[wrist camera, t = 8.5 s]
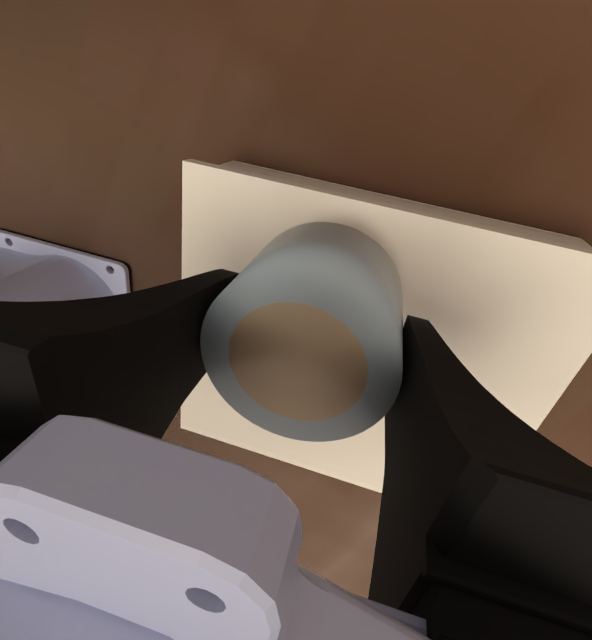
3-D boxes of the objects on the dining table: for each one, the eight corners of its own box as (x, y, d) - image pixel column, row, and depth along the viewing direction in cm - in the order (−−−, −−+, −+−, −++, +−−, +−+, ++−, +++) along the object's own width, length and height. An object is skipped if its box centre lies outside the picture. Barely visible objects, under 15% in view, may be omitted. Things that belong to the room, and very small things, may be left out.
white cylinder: (248, 342, 15) (201, 414, 11) (256, 208, 12) (197, 249, 9) (382, 375, 14) (375, 462, 11) (422, 238, 11) (431, 297, 8)
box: (217, 379, 26) (189, 421, 22) (233, 160, 18) (194, 173, 15) (456, 451, 24) (465, 509, 20) (581, 238, 16) (626, 273, 13)
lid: (185, 420, 22) (180, 427, 22) (190, 158, 15) (182, 160, 14) (469, 511, 20) (471, 522, 20) (641, 261, 13) (651, 267, 12)
